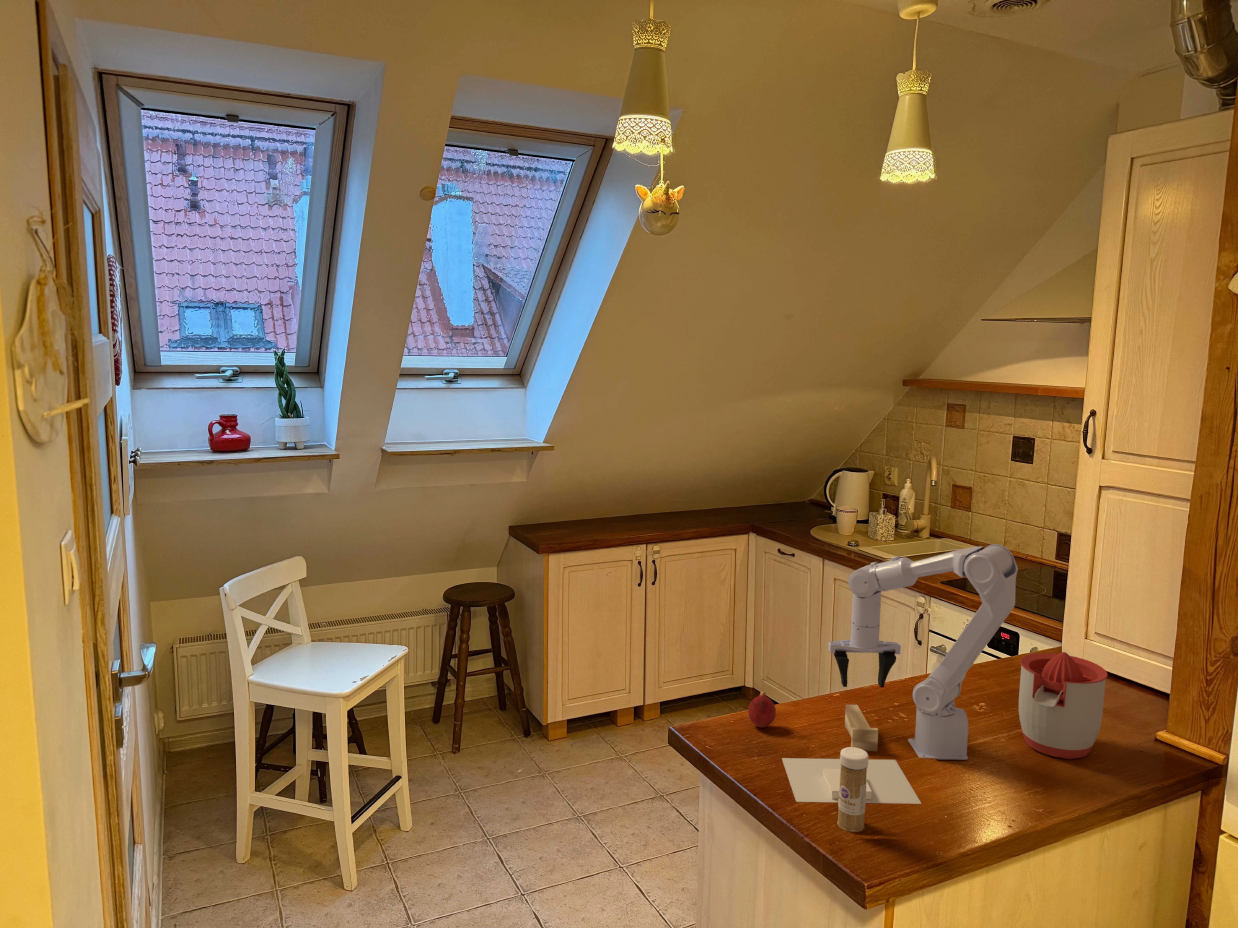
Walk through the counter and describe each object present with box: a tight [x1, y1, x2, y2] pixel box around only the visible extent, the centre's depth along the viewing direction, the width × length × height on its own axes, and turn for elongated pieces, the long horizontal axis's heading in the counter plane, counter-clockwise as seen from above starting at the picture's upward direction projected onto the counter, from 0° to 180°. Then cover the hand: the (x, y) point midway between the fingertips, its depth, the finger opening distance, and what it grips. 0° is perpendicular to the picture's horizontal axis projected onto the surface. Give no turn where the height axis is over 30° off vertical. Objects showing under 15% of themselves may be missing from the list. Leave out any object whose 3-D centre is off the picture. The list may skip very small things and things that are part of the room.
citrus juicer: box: [1018, 651, 1109, 760], centre depth 175 cm, size 16×17×20 cm
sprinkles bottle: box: [836, 746, 869, 833], centre depth 147 cm, size 5×5×13 cm
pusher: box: [844, 704, 879, 752], centre depth 179 cm, size 5×12×5 cm, turn 179°
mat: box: [781, 757, 922, 805], centre depth 162 cm, size 22×16×1 cm
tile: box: [823, 769, 872, 799], centre depth 159 cm, size 7×2×8 cm
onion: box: [747, 691, 777, 729], centre depth 184 cm, size 6×6×8 cm
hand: (862, 685), depth 184 cm, fingers open, 7 cm apart
